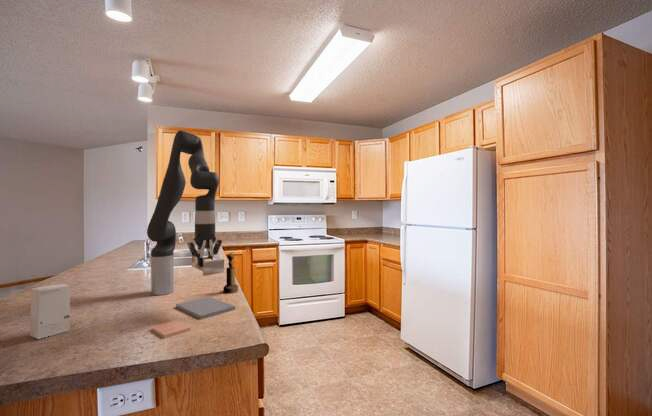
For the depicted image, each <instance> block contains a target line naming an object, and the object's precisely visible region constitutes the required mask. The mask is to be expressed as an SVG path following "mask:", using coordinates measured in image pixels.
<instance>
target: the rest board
mask: <svg viewBox="0 0 652 416" xmlns="http://www.w3.org/2000/svg"><path fill="white" fill-rule="evenodd" d="M175 307H176V309H179V310H181V311H183V312H184V313H187V314H189V315H191V316H193V317H195V318H198V319H200V320H204V319H206V318H209V317H214V316H217V315H220V314H224V313H228V312H231V311H234V310H236V305H234V304H231V303H228V302H225V301H222V300H219V299H217V298H215V297H212V296H206V297H202V298H196V299H193V300H189V301H183V302H180V303H175Z"/></svg>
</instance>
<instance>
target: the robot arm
mask: <svg viewBox="0 0 652 416" xmlns="http://www.w3.org/2000/svg"><path fill="white" fill-rule="evenodd" d="M171 146H172V148H171V151H170V156H169V160H168V164H167V168H166V171H165V175H164V177H163V181H162V184H161V187H160V192H159V195H158V198H157V202H156V205H155V207H154V212H153V213H152V216H151V219H150V221H149V223H148V226H147V229H146V235H147V237H148V238H149V240H150V241H152V242H156V244H155V246H154V247H153V248H152V249H151V251H150V294H151V295H153V296H163V295H168V294H172V293H174V283H175V282H174V281H175V280H174V279H175V278H174V275H175V274H174V273H175V272H174V269H175V268H174V253H175V252H174V251H175V248H176V240H177V239H176V238H177V232H176V231H177V230H176V226H175V224H174V223H173V222H172V221H170V220H169V218H170V216H171V214H172V211H173V210H174V209H175V208H176V207H177V205H178V203H179V202H180V200H181V199H182V197H183V194H184V190H185V187H186V177H185V175H184V172H183V169H182V164H181V153H183V154H186V155H190V156H189V158H188V162H187V163H188V167H189V170H190V173H191V175H190V179H189V180H190V181H189V182H190V185H191V187H192V188H193V189H195V190H206V191H207V190H208V192H207V193H205V194H202V195H197V196H196V197H195V201H194V203H195V204H194V205H195V207H194V209H195V210H194V211H195V213H194V238H193V240H192V241H188V242H187V243H186V244H187V247H188V249H189V251H190V253H191V257H192V256H195V257H197V258H198V266H199V267H203V258H202V257H203V256H204V252H205V251H206V253H207V256H206V257H207V258H209V259H212V260H214V256H215V255H218V253H219V251H220V248H221V245H222V242H223V240H222V239H219V238H217V237H216V212H215V209H216V208H215V199H216V195H217V191H218V187H219V184H220V177H219V175H218V173H217V172H215V171H210V166H209V165H208V163H207V161H206V159H205V158H206V157H205V152H204V147H203V146H204V145H203V141H202V138H200V137H199V136H198V135H195V134H193V133H190V132H187V131H185V130H178V131H177V132H176V134H175V135H174V138H173V141H172V145H171ZM196 246H197V248H196Z"/></svg>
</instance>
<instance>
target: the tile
mask: <svg viewBox="0 0 652 416" xmlns="http://www.w3.org/2000/svg"><path fill="white" fill-rule="evenodd" d="M151 331H152V332H154V333H156V334H157V335H159V336H160V337H161V338H162V339H167V338H170V337H174V336H177V335H180V334H183V333H186V332H189V331H191V327H190V326H189V325H187V324H186V323H183V322H182V321H179V320H177V319H175V320H172V321H168V322H164V323H161V324H157V325H153V326H151Z"/></svg>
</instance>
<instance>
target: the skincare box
mask: <svg viewBox="0 0 652 416" xmlns="http://www.w3.org/2000/svg"><path fill="white" fill-rule="evenodd" d="M30 293H31V294H30V295H31V296H30V329H29V330H30V337H32V338H34V339H35V338H36V340H37V339H39V340H41V338H42V339H45V338H49V337H52V336H54V335H55V336H56V335H58V334H62V333H66V332H69V331H70V321H71V320H70V317H71V316H70V314H71V313H70V312H71V285H69V284H66V283H65V284H64V283H59V284H52V285H45V286H39V287H33V288H30ZM48 336H49V337H48ZM44 337H45V338H44Z"/></svg>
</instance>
